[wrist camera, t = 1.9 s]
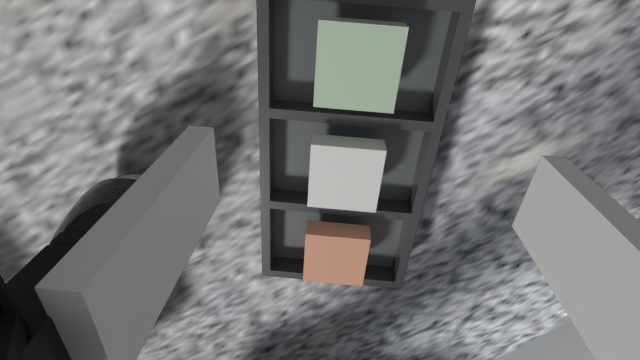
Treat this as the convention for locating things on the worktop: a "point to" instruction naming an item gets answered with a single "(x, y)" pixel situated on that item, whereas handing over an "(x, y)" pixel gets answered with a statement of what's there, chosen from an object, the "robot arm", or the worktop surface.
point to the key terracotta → (336, 252)
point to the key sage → (358, 63)
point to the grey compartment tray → (352, 126)
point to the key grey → (345, 172)
